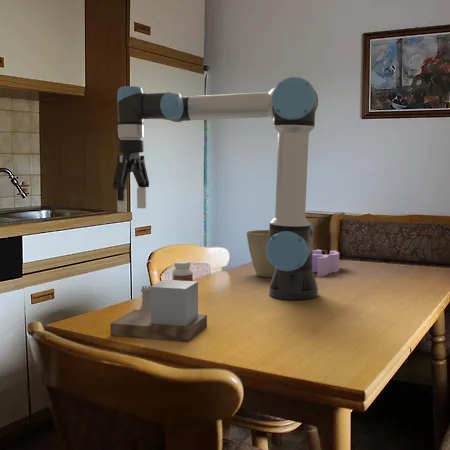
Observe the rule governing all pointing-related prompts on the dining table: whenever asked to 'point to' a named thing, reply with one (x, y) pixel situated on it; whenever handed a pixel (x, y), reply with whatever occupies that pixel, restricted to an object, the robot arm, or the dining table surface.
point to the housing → (174, 302)
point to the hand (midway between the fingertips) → (132, 210)
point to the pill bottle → (182, 271)
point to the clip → (325, 262)
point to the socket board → (155, 327)
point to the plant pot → (260, 252)
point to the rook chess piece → (146, 299)
